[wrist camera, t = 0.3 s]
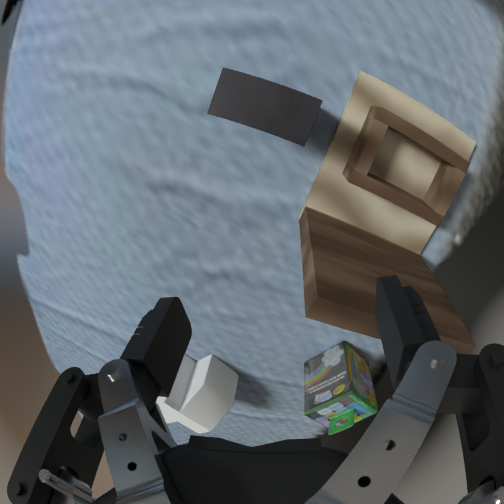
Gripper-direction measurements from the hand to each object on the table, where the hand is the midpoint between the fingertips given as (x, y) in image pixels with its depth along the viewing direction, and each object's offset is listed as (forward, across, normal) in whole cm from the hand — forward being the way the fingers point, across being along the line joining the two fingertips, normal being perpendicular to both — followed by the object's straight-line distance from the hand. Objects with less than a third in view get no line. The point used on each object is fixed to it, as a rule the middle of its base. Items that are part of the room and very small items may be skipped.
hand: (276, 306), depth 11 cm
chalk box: (+26, -4, +36) cm, 45 cm away
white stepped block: (+26, +22, +36) cm, 49 cm away
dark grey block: (+26, 0, -7) cm, 27 cm away
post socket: (+26, -13, +4) cm, 29 cm away
